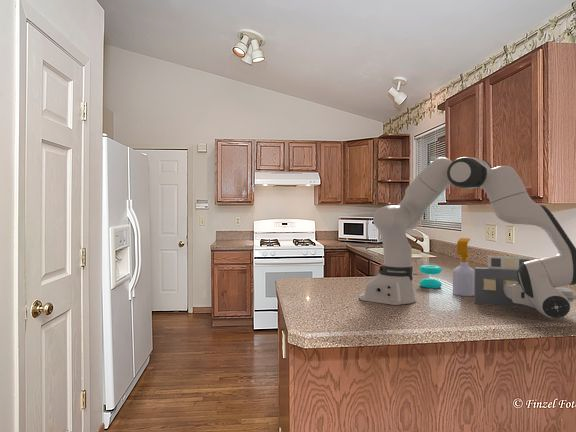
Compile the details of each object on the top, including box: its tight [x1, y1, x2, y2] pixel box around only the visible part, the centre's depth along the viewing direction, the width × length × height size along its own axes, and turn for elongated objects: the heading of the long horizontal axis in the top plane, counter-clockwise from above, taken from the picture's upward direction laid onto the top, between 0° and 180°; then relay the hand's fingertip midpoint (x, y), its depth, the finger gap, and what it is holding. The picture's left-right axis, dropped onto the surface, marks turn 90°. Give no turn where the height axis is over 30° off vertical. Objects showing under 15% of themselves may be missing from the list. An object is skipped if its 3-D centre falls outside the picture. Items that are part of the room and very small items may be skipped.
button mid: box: [503, 279, 519, 290], centre depth 139 cm, size 4×7×4 cm, turn 157°
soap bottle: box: [452, 237, 475, 297], centre depth 160 cm, size 9×9×25 cm
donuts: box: [419, 264, 443, 289], centre depth 177 cm, size 10×10×10 cm
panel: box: [473, 255, 537, 310], centre depth 141 cm, size 24×3×19 cm, turn 68°
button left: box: [483, 278, 496, 290], centre depth 144 cm, size 4×7×4 cm, turn 157°
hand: (532, 288), depth 135 cm, fingers closed, pressing on button right
